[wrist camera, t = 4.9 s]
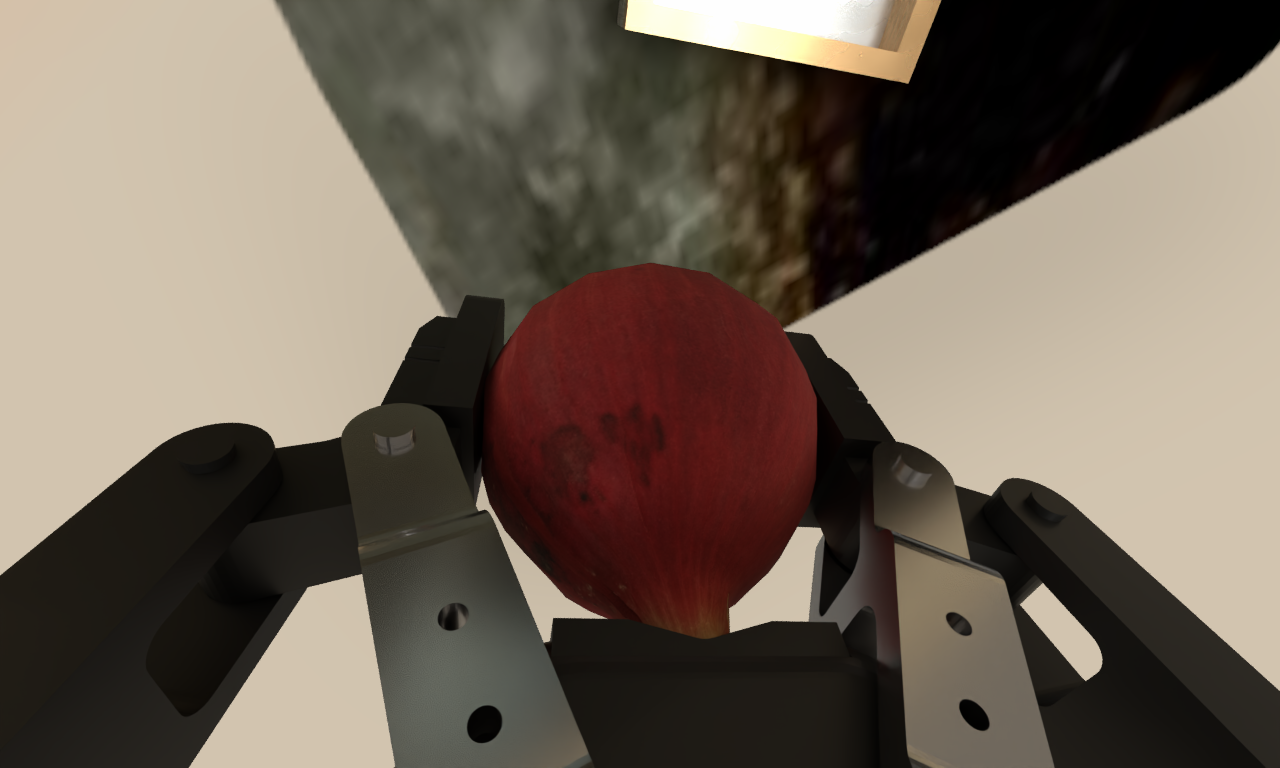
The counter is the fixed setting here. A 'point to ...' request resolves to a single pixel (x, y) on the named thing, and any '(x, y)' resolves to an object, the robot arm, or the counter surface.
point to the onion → (650, 444)
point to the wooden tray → (797, 29)
